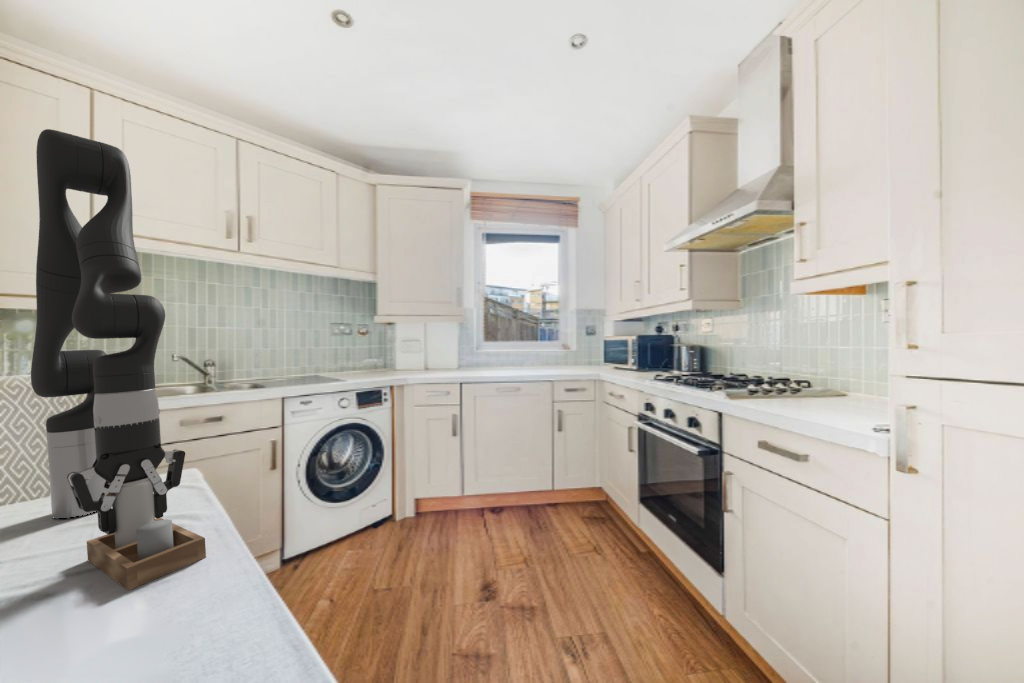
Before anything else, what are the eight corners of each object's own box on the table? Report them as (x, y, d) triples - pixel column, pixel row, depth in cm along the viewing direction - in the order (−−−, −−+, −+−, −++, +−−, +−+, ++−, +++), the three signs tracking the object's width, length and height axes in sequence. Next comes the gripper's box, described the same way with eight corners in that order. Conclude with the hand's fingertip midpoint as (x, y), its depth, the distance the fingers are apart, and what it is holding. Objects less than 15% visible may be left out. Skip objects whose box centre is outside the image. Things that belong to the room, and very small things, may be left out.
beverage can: (131, 563, 62) (126, 485, 62) (107, 561, 63) (102, 484, 63) (164, 546, 66) (160, 474, 66) (141, 545, 67) (137, 473, 67)
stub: (134, 568, 60) (131, 528, 60) (168, 555, 63) (165, 517, 63) (145, 575, 58) (142, 534, 58) (179, 561, 61) (176, 522, 61)
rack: (87, 560, 63) (86, 541, 63) (160, 534, 71) (159, 517, 71) (128, 590, 54) (126, 568, 54) (206, 557, 62) (204, 537, 62)
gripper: (173, 409, 72) (179, 503, 73) (54, 427, 60) (61, 540, 60) (192, 412, 68) (198, 511, 69) (69, 431, 56) (77, 552, 56)
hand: (134, 524), depth 64 cm, fingers open, 5 cm apart
